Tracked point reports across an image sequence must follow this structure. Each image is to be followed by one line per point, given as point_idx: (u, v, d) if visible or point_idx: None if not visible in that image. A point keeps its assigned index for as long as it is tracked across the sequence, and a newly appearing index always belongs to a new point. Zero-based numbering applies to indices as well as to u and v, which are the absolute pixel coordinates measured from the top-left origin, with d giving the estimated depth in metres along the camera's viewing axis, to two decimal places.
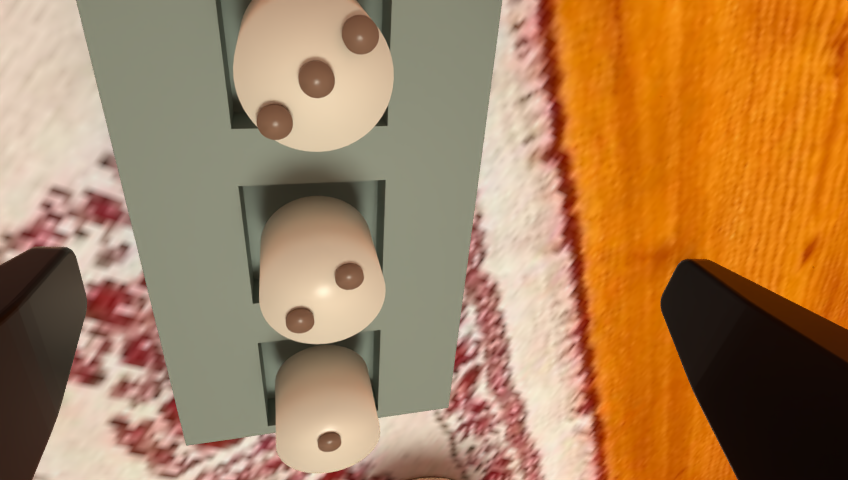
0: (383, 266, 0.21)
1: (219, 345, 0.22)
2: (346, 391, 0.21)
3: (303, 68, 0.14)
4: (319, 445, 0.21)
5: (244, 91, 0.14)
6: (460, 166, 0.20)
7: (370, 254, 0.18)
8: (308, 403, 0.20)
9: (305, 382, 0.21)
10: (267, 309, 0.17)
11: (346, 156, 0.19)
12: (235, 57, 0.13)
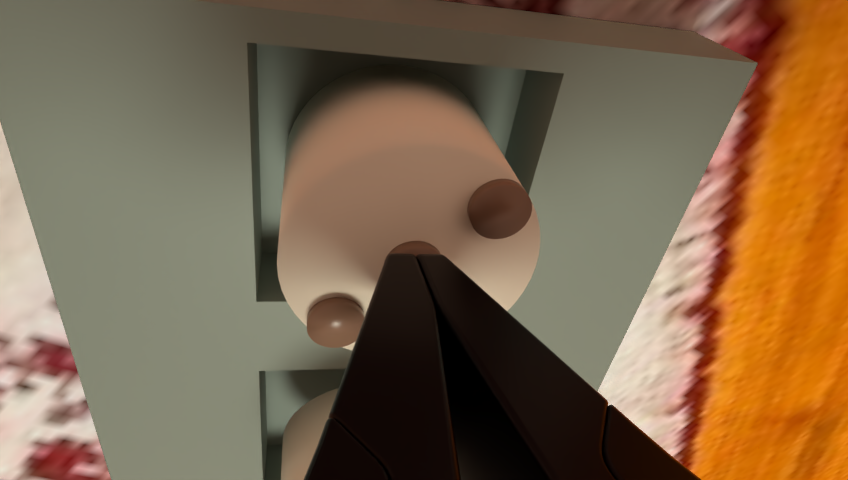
0: None
1: None
2: None
3: None
4: None
5: (292, 279, 0.08)
6: (589, 350, 0.13)
7: None
8: None
9: None
10: None
11: None
12: (283, 233, 0.08)
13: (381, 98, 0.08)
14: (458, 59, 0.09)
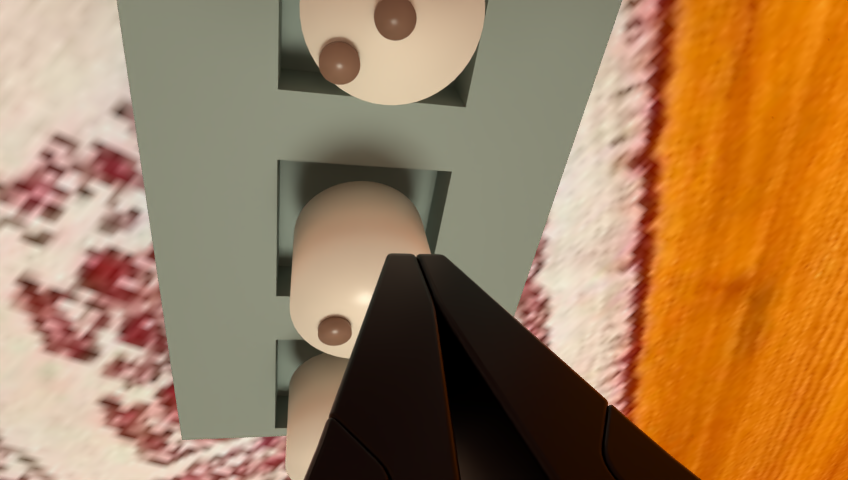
0: None
1: (232, 338, 0.19)
2: None
3: (382, 2, 0.11)
4: None
5: (309, 21, 0.12)
6: (541, 165, 0.17)
7: None
8: None
9: (325, 393, 0.18)
10: (298, 314, 0.14)
11: (410, 138, 0.15)
12: None
13: None
14: None
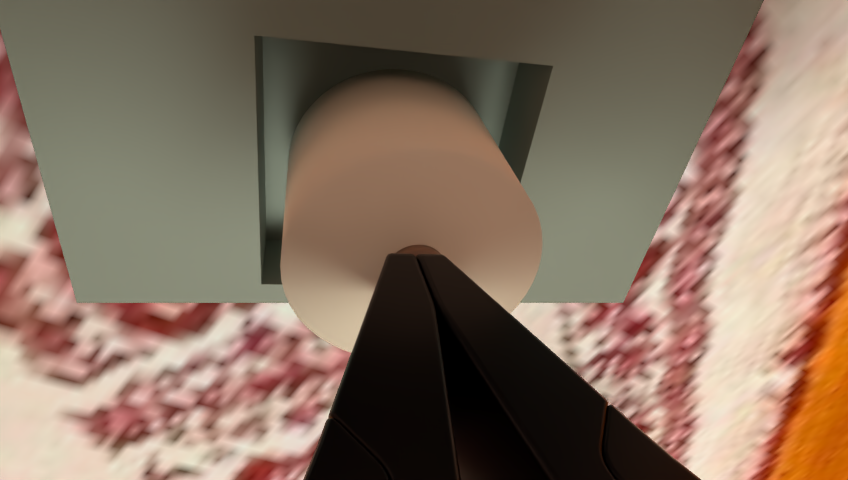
0: None
1: (152, 19, 0.08)
2: (476, 142, 0.08)
3: None
4: None
5: None
6: None
7: None
8: (380, 144, 0.07)
9: (369, 114, 0.08)
10: None
11: None
12: None
13: None
14: None
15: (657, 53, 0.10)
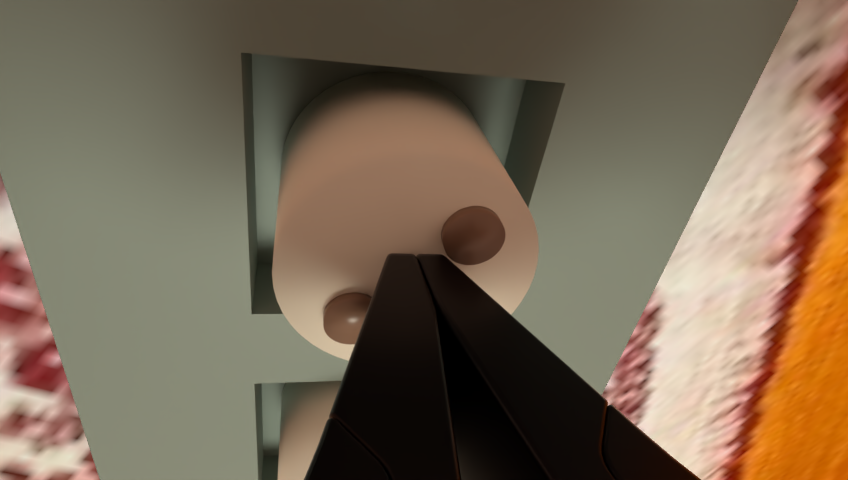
0: None
1: (181, 383, 0.11)
2: None
3: None
4: None
5: None
6: (721, 73, 0.09)
7: (519, 193, 0.08)
8: None
9: None
10: (287, 288, 0.08)
11: (497, 12, 0.08)
12: None
13: None
14: None
15: None
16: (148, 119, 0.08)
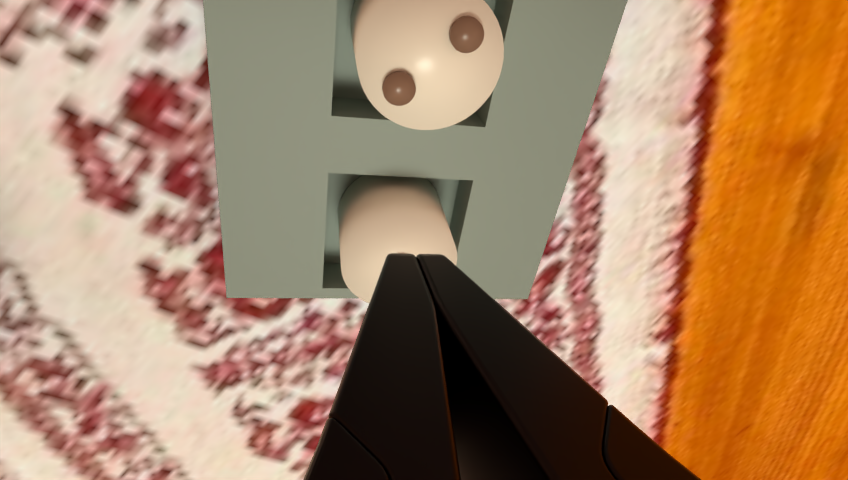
0: (494, 90, 0.17)
1: (283, 168, 0.18)
2: (426, 209, 0.18)
3: None
4: None
5: None
6: None
7: None
8: (384, 212, 0.18)
9: (379, 196, 0.19)
10: (364, 65, 0.14)
11: None
12: None
13: None
14: None
15: (526, 173, 0.19)
16: None
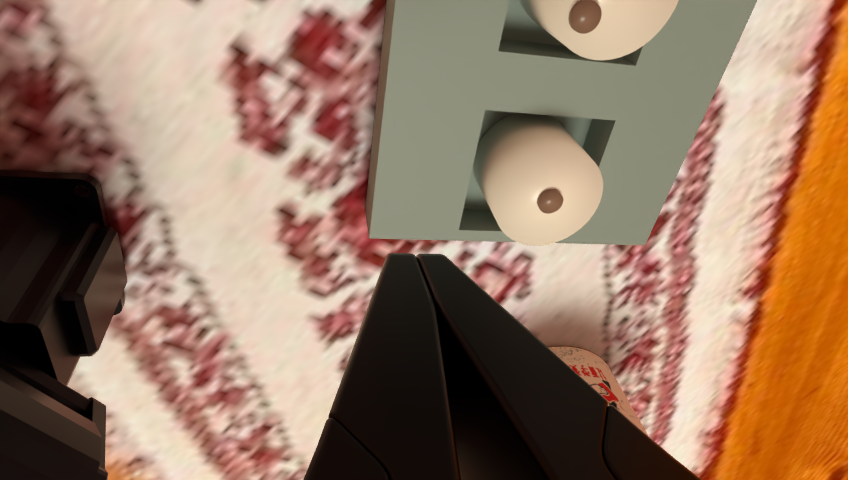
0: None
1: (445, 104, 0.18)
2: (576, 145, 0.19)
3: None
4: (540, 201, 0.19)
5: None
6: None
7: None
8: (541, 146, 0.18)
9: (529, 134, 0.19)
10: None
11: None
12: None
13: None
14: None
15: (665, 114, 0.20)
16: None
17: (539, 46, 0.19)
